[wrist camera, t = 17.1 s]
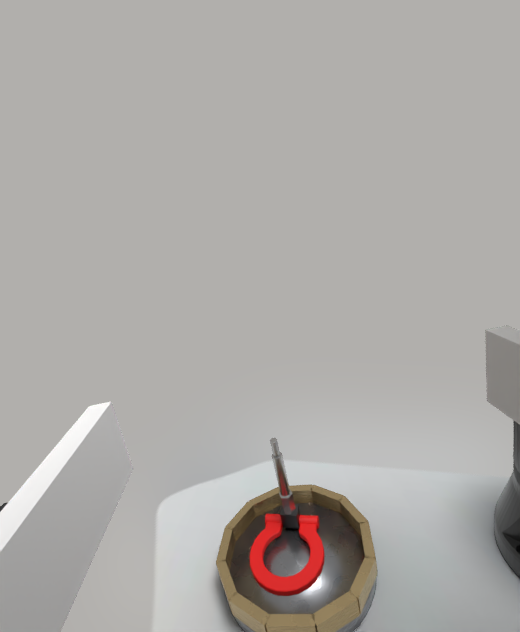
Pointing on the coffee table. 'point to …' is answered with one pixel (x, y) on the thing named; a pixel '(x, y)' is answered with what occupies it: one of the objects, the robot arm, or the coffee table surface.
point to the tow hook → (273, 529)
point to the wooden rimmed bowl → (300, 565)
